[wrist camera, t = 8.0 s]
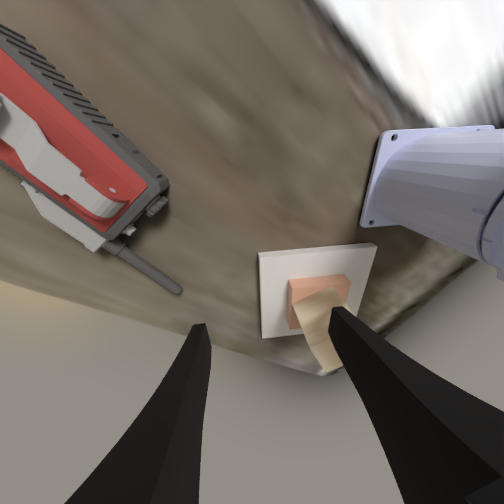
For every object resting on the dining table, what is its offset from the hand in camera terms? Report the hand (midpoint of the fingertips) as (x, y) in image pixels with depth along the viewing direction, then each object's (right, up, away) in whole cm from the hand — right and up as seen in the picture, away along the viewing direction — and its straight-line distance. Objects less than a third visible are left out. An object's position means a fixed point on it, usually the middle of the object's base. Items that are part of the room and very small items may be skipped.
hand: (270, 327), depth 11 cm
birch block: (+6, -2, +10) cm, 11 cm away
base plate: (+6, 0, +12) cm, 13 cm away
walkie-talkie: (-12, +9, +5) cm, 16 cm away
